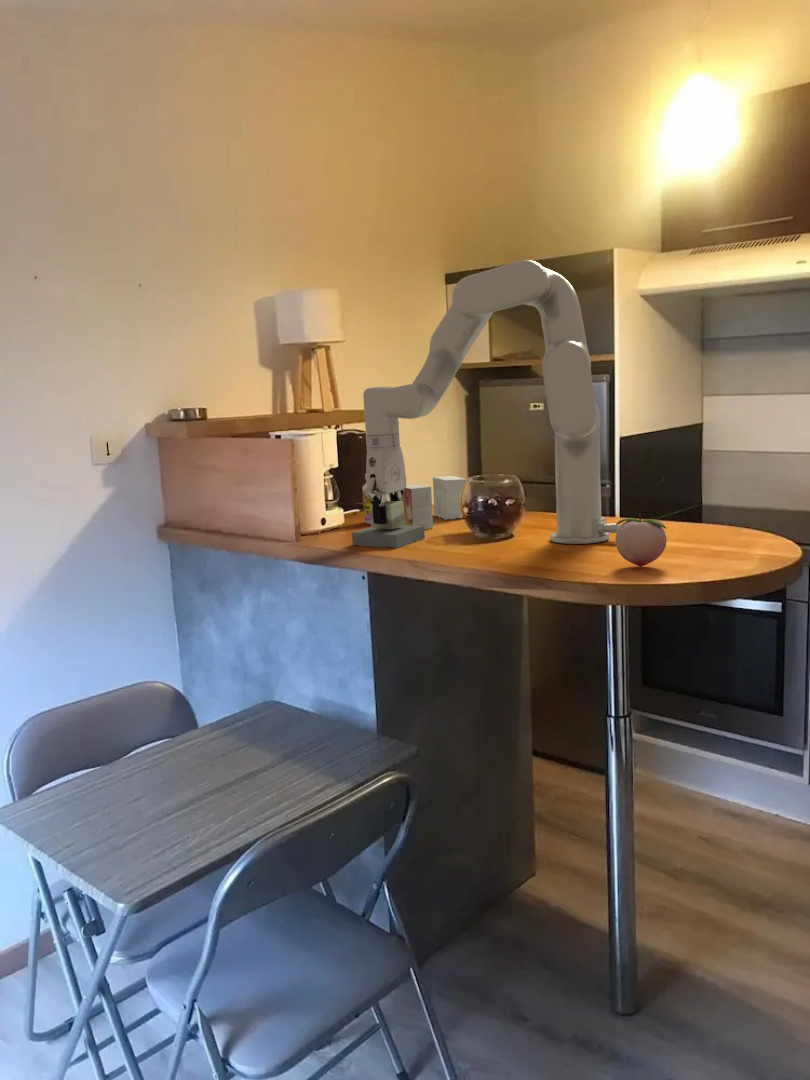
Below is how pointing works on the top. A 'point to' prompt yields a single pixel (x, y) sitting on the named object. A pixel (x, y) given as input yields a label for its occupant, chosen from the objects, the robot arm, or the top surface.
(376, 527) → the cube
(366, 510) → the supplement bottle
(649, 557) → the decorative fruit
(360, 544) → the plinth
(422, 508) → the small box
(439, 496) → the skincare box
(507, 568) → the top surface
